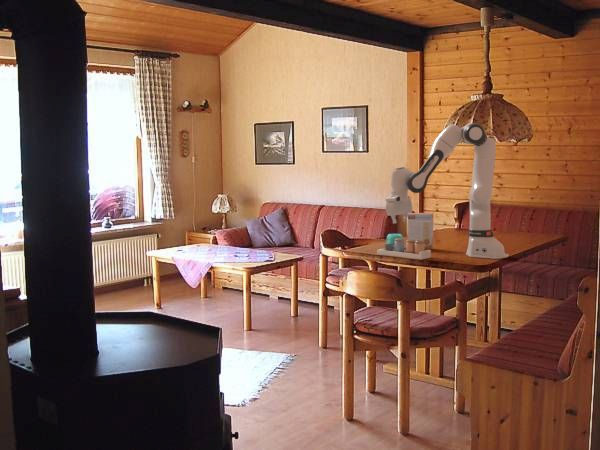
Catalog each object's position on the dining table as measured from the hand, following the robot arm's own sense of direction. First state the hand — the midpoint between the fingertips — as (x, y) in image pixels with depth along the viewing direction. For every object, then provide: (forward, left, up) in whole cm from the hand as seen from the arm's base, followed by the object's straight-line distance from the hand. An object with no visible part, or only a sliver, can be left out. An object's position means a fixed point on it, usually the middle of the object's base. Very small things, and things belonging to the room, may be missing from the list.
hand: (399, 222), depth 384 cm
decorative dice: (+19, -22, -18) cm, 34 cm away
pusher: (+7, -2, -18) cm, 19 cm away
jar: (-7, 0, -18) cm, 20 cm away
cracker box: (+5, -28, -18) cm, 34 cm away
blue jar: (0, 0, -18) cm, 18 cm away
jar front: (-13, 0, -18) cm, 22 cm away
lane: (-3, 0, -18) cm, 18 cm away
